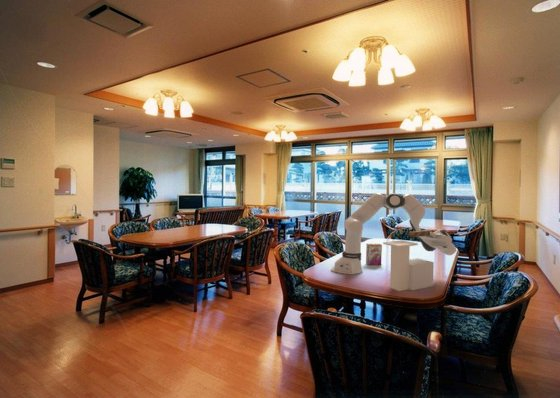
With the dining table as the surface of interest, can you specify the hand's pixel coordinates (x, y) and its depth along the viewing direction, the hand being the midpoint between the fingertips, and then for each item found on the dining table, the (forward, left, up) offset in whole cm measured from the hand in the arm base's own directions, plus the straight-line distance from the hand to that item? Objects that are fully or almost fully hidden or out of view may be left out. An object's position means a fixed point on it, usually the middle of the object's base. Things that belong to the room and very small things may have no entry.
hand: (426, 232), depth 203 cm
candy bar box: (-36, +38, -33) cm, 62 cm away
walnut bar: (-3, -4, -2) cm, 6 cm away
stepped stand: (-10, -12, -33) cm, 37 cm away
